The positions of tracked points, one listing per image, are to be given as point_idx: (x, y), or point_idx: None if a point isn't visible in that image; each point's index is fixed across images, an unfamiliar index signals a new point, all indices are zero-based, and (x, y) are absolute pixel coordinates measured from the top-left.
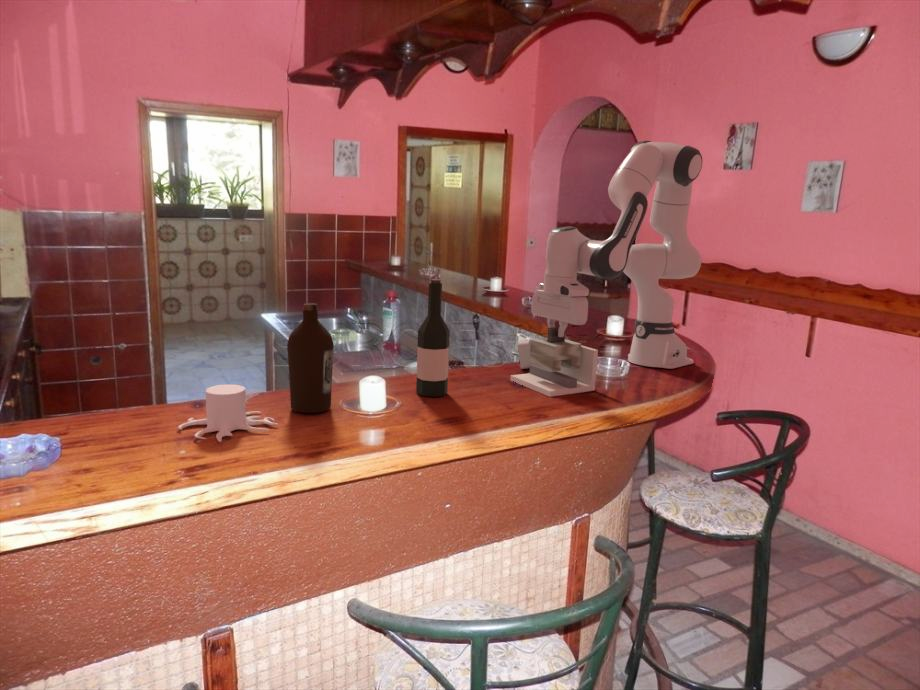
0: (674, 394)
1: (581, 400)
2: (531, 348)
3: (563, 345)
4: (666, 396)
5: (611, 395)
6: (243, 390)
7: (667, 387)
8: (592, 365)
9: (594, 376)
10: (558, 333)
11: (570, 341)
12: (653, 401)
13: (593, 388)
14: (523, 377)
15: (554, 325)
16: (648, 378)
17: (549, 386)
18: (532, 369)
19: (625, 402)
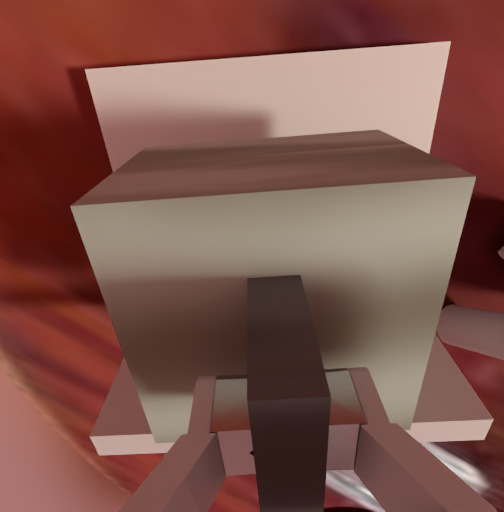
0: (81, 449)
1: (30, 182)
2: (413, 155)
3: (113, 316)
4: (64, 428)
5: (89, 318)
6: None
7: (146, 468)
8: (122, 364)
9: None
10: (203, 402)
11: None
12: (15, 379)
13: None
14: (375, 94)
15: (383, 501)
16: (235, 477)
17: (173, 127)
18: None
19: (3, 309)
